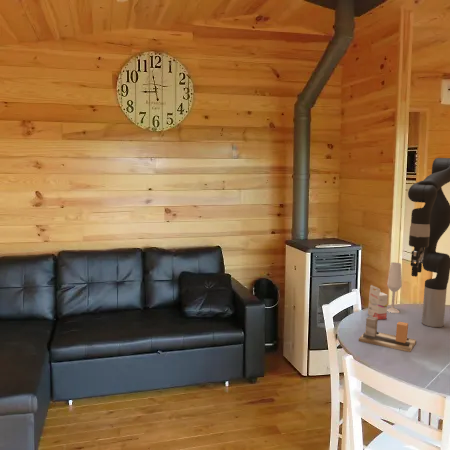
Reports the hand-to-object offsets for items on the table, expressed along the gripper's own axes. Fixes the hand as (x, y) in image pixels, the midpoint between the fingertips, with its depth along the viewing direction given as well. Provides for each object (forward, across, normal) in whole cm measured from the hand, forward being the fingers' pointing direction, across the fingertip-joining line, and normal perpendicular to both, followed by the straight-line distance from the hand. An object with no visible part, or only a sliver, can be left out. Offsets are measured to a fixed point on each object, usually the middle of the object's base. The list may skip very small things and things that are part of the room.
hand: (416, 274), depth 196 cm
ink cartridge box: (+28, -24, -20) cm, 42 cm away
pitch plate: (+28, +7, -8) cm, 30 cm away
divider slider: (+26, +7, -2) cm, 27 cm away
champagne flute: (+28, -38, -16) cm, 50 cm away
